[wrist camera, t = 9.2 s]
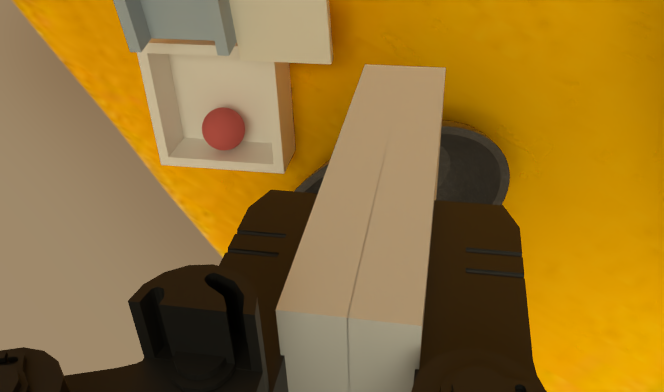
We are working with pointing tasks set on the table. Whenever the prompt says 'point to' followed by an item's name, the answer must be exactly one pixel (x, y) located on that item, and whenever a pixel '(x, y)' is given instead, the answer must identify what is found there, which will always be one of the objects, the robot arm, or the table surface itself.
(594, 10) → the table surface
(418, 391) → the robot arm
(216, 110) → the ball
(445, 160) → the bowl
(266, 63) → the dish
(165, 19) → the ramp
